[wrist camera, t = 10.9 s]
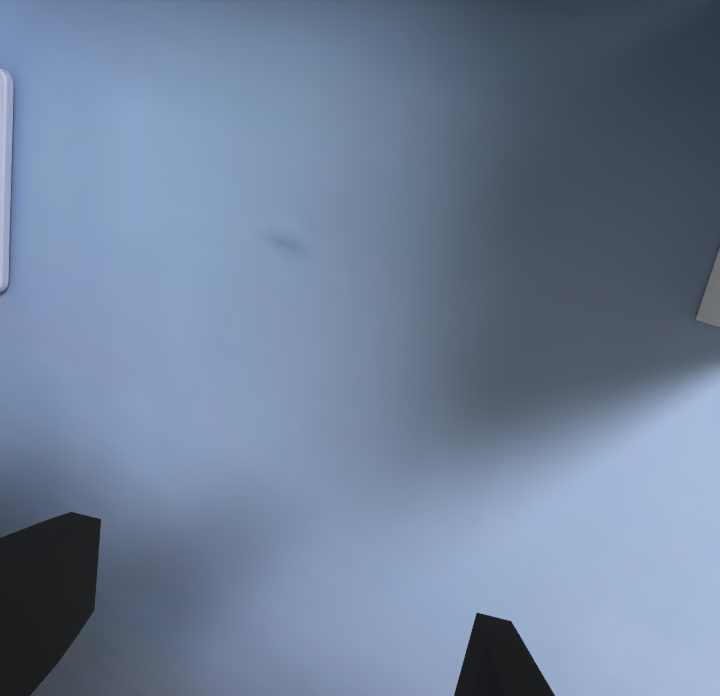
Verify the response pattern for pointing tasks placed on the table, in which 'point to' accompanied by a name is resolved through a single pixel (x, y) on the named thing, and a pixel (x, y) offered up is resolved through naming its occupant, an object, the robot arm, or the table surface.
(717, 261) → the door frame
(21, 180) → the table surface
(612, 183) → the table surface
